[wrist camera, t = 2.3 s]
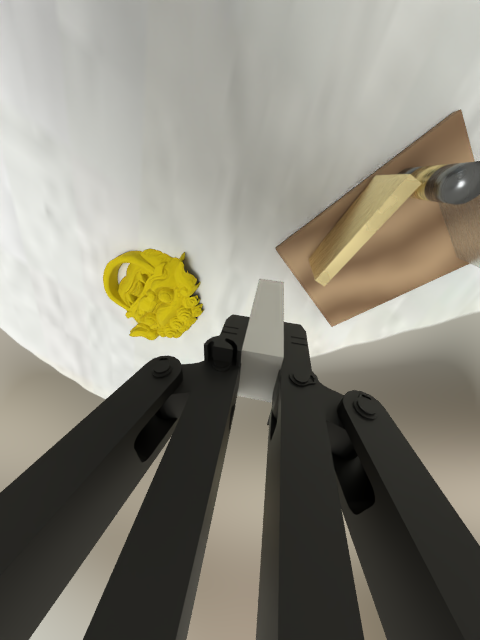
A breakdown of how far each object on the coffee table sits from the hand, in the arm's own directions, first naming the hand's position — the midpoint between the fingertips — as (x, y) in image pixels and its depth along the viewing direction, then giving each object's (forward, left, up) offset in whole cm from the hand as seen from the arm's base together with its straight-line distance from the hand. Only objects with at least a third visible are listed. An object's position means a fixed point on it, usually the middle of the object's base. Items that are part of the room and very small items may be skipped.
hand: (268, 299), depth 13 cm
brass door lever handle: (+4, +9, -15) cm, 18 cm away
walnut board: (+8, +9, -17) cm, 21 cm away
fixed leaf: (+8, +14, -16) cm, 23 cm away
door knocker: (-5, -22, -17) cm, 28 cm away
